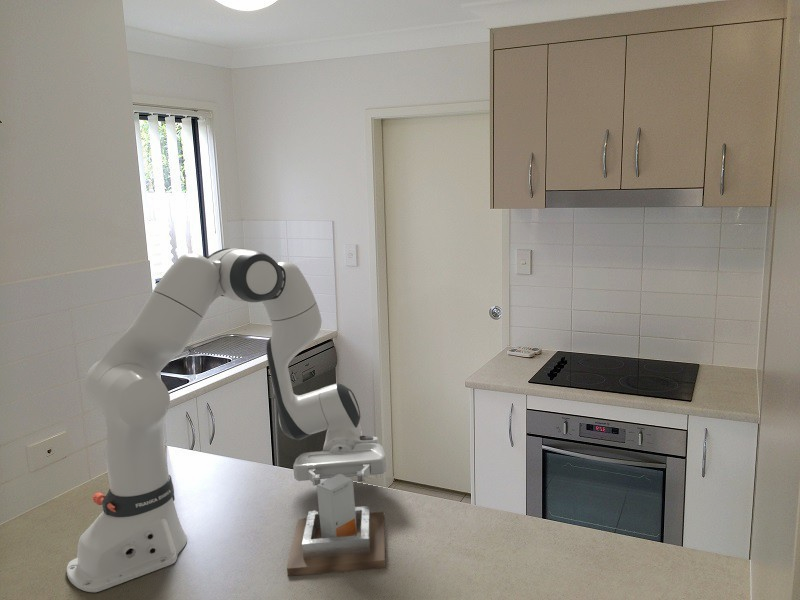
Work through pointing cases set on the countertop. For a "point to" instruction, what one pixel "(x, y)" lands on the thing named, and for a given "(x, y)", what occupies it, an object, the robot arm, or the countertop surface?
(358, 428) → the robot arm
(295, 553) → the socket board
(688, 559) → the countertop surface
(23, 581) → the countertop surface
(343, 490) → the skincare box
